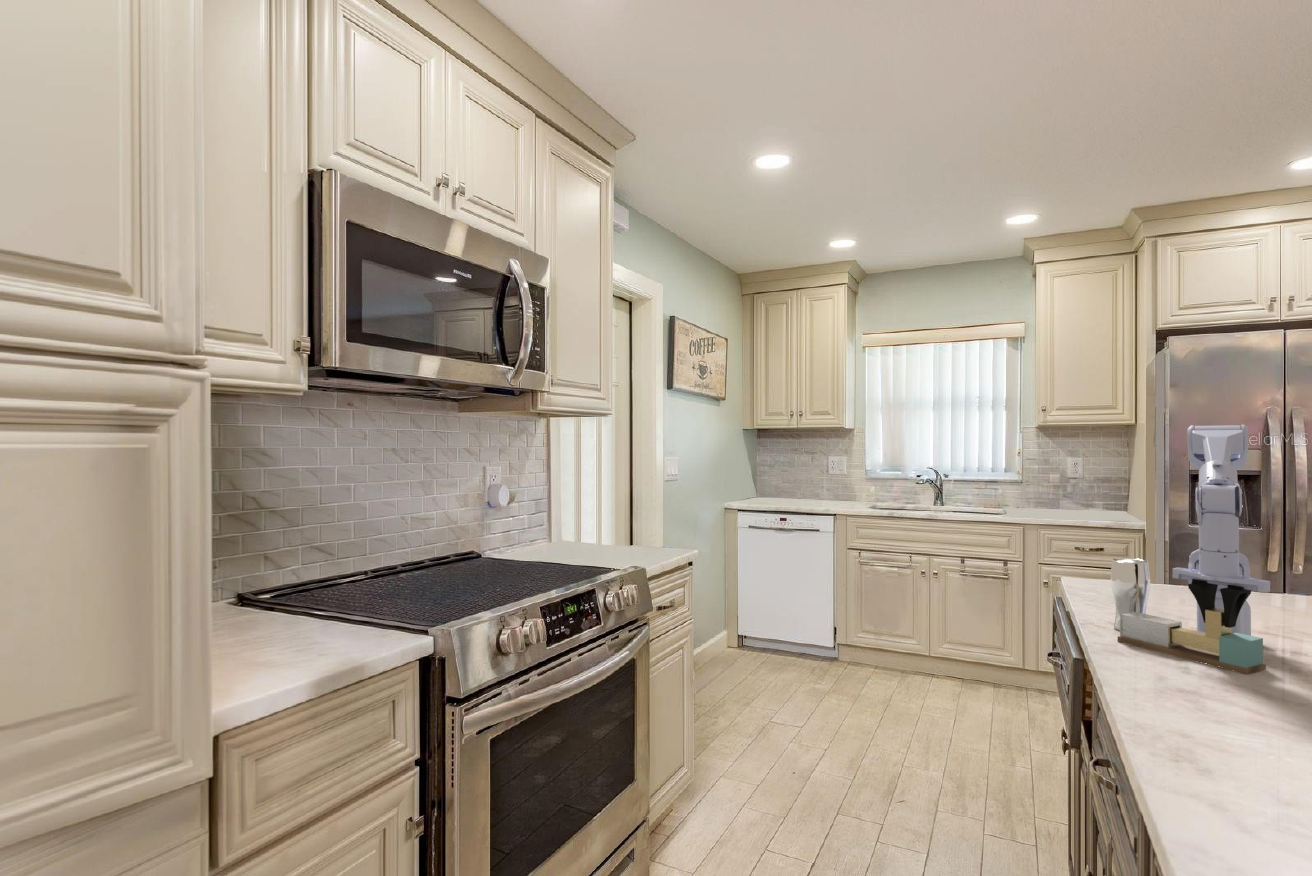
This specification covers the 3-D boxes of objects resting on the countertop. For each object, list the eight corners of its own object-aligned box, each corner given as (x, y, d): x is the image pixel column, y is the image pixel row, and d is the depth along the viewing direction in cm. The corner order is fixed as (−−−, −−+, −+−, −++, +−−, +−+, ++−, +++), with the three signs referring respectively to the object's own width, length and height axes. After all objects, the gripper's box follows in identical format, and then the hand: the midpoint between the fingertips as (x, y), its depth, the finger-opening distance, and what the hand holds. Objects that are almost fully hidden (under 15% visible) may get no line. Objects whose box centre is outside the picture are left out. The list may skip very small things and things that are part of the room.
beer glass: (1157, 635, 144) (1156, 563, 144) (1120, 633, 145) (1119, 562, 145) (1140, 626, 151) (1140, 558, 151) (1105, 625, 152) (1104, 557, 152)
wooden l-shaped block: (1166, 636, 136) (1166, 598, 136) (1246, 655, 124) (1246, 613, 124) (1155, 639, 134) (1155, 600, 134) (1235, 658, 122) (1235, 615, 122)
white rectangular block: (1133, 633, 142) (1133, 611, 142) (1181, 645, 134) (1181, 621, 134) (1120, 636, 140) (1119, 613, 140) (1168, 648, 132) (1168, 624, 132)
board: (1135, 637, 142) (1135, 632, 142) (1265, 669, 122) (1265, 663, 122) (1117, 641, 140) (1117, 636, 140) (1247, 674, 120) (1247, 668, 120)
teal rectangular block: (1236, 657, 126) (1236, 632, 126) (1263, 663, 122) (1262, 638, 122) (1219, 661, 124) (1218, 636, 124) (1245, 668, 120) (1245, 642, 120)
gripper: (1162, 546, 131) (1163, 617, 131) (1254, 558, 118) (1255, 637, 118) (1184, 543, 134) (1185, 613, 134) (1276, 554, 121) (1277, 632, 121)
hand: (1219, 624), depth 126 cm, fingers open, 3 cm apart
